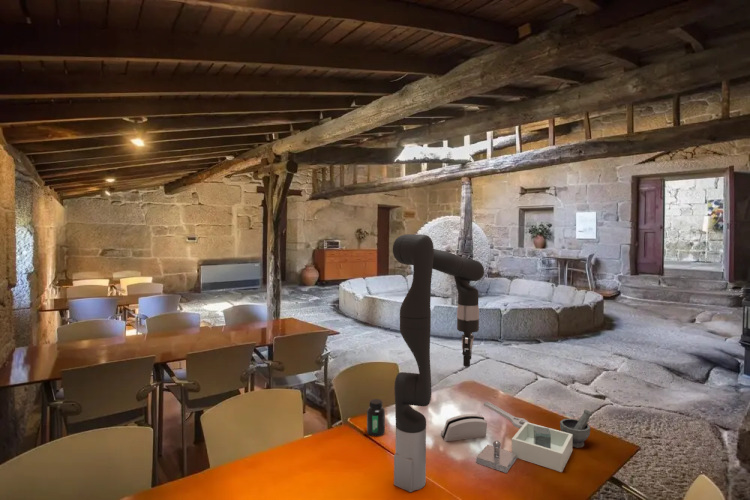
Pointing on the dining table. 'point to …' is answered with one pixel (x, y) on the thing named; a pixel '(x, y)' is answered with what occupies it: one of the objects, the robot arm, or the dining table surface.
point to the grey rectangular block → (542, 437)
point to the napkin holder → (464, 427)
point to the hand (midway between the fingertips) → (467, 362)
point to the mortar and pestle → (577, 428)
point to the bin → (540, 454)
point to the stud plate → (496, 457)
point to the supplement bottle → (375, 418)
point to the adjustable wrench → (506, 415)
